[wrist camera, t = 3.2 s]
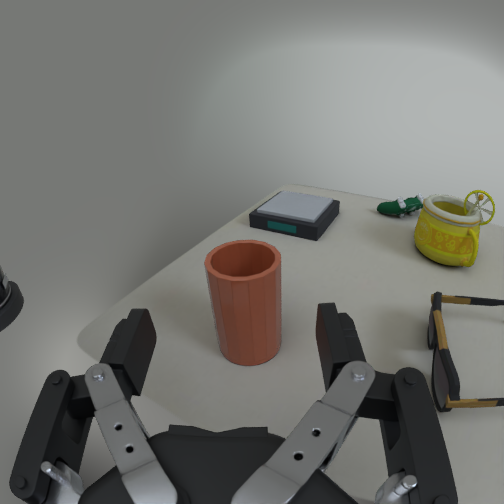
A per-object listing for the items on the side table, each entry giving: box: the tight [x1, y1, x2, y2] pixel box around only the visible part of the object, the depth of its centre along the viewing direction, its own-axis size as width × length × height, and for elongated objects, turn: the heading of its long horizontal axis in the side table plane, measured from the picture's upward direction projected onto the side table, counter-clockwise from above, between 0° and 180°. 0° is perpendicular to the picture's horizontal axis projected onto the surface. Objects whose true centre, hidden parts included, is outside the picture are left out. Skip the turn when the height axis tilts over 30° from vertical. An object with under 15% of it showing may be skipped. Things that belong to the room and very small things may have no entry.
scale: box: [249, 191, 340, 241], centre depth 54 cm, size 12×12×3 cm
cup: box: [204, 240, 281, 366], centre depth 28 cm, size 6×6×10 cm
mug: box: [414, 190, 495, 267], centre depth 39 cm, size 13×11×12 cm
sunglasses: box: [428, 292, 504, 412], centre depth 23 cm, size 14×15×5 cm
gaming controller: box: [377, 193, 424, 217], centre depth 54 cm, size 9×4×6 cm
